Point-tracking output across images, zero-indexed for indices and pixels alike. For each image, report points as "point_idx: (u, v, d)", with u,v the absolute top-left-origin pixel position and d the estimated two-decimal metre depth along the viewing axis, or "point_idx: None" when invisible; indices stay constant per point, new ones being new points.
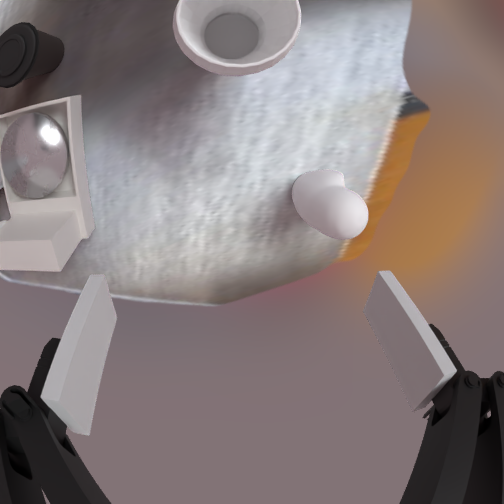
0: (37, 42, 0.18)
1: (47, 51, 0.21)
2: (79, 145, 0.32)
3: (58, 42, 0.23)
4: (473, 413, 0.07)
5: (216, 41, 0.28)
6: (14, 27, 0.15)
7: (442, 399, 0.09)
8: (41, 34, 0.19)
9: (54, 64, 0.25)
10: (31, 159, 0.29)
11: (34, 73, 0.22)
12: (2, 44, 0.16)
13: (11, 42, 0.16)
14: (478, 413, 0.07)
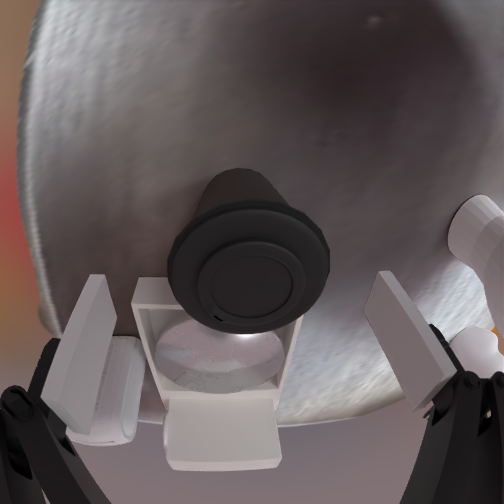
0: None
1: None
2: None
3: None
4: (473, 413, 0.07)
5: None
6: (263, 217, 0.12)
7: (442, 399, 0.09)
8: None
9: None
10: (221, 365, 0.26)
11: None
12: (229, 259, 0.12)
13: (263, 263, 0.13)
14: (478, 413, 0.07)
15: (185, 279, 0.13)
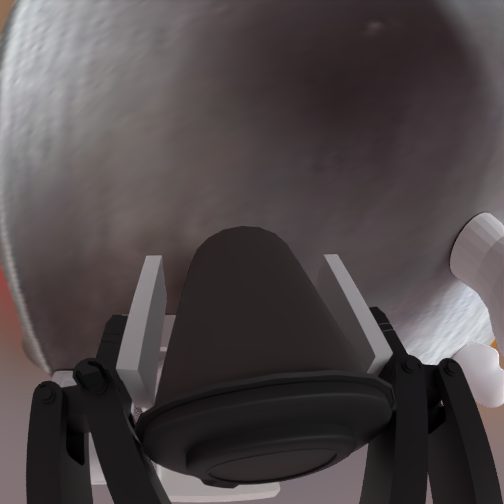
0: None
1: None
2: None
3: None
4: (418, 400, 0.08)
5: None
6: (305, 406, 0.05)
7: None
8: None
9: None
10: None
11: None
12: (238, 458, 0.06)
13: (296, 453, 0.06)
14: (424, 398, 0.08)
15: (167, 456, 0.07)
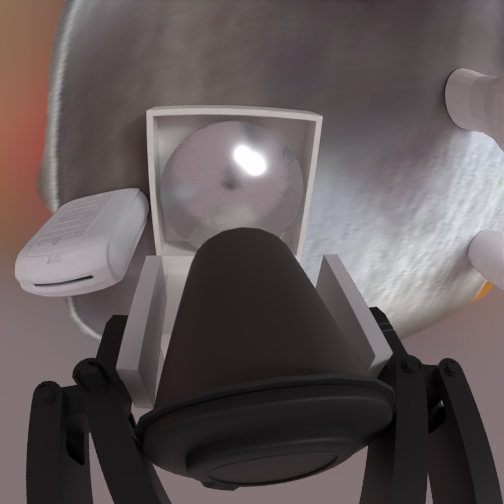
0: None
1: None
2: None
3: None
4: (418, 400, 0.08)
5: None
6: (305, 409, 0.05)
7: None
8: None
9: None
10: (234, 197, 0.24)
11: None
12: (238, 461, 0.06)
13: (296, 455, 0.06)
14: (424, 398, 0.08)
15: (167, 459, 0.07)
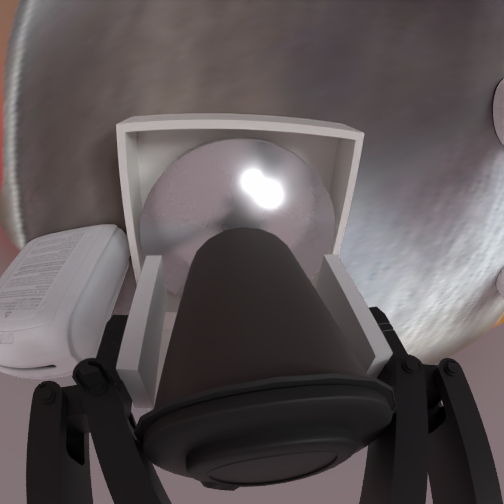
0: None
1: None
2: None
3: None
4: (418, 400, 0.08)
5: None
6: (305, 409, 0.05)
7: None
8: None
9: None
10: None
11: None
12: (238, 461, 0.06)
13: (296, 455, 0.06)
14: (424, 399, 0.08)
15: (167, 459, 0.07)
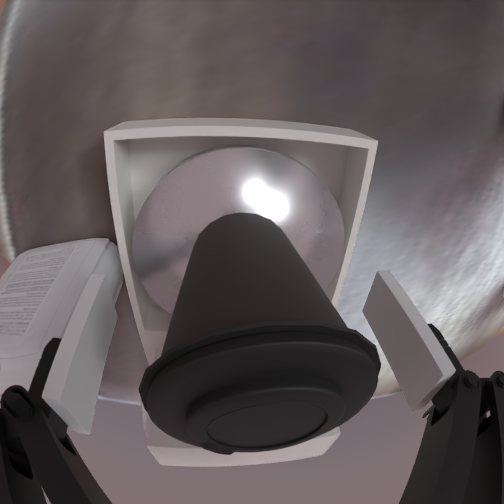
0: None
1: None
2: None
3: None
4: (472, 413, 0.07)
5: None
6: (293, 353, 0.07)
7: (441, 399, 0.09)
8: None
9: None
10: None
11: None
12: (234, 409, 0.07)
13: (287, 408, 0.07)
14: (477, 413, 0.07)
15: (168, 416, 0.08)
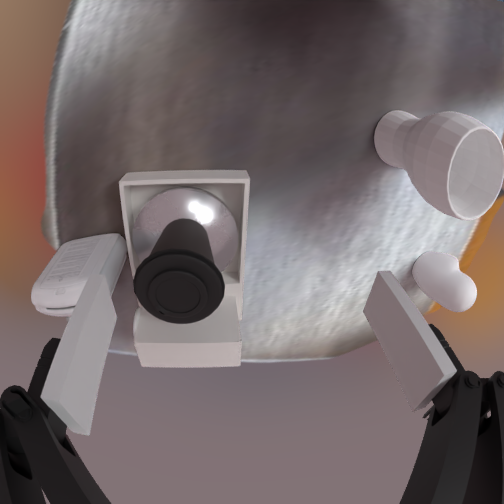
0: (222, 286, 0.25)
1: None
2: None
3: (207, 238, 0.31)
4: (473, 413, 0.07)
5: None
6: (178, 258, 0.23)
7: (442, 399, 0.09)
8: (210, 257, 0.26)
9: None
10: None
11: None
12: (162, 280, 0.23)
13: (181, 282, 0.23)
14: (478, 413, 0.07)
15: (142, 290, 0.24)
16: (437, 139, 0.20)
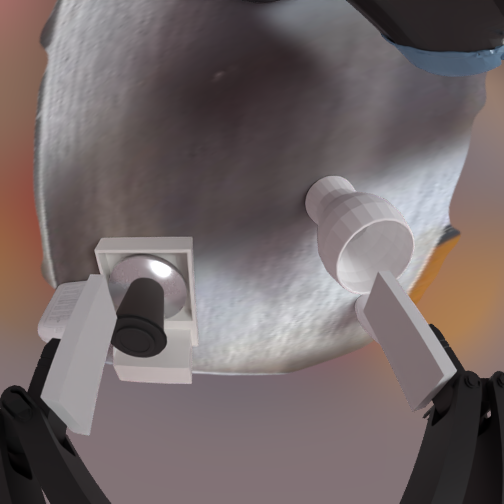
0: (164, 336, 0.34)
1: None
2: None
3: (161, 294, 0.39)
4: (473, 413, 0.07)
5: None
6: (131, 320, 0.32)
7: (442, 399, 0.09)
8: (157, 315, 0.35)
9: None
10: None
11: None
12: (123, 333, 0.32)
13: (135, 335, 0.32)
14: (478, 413, 0.07)
15: (112, 337, 0.33)
16: (333, 231, 0.29)
